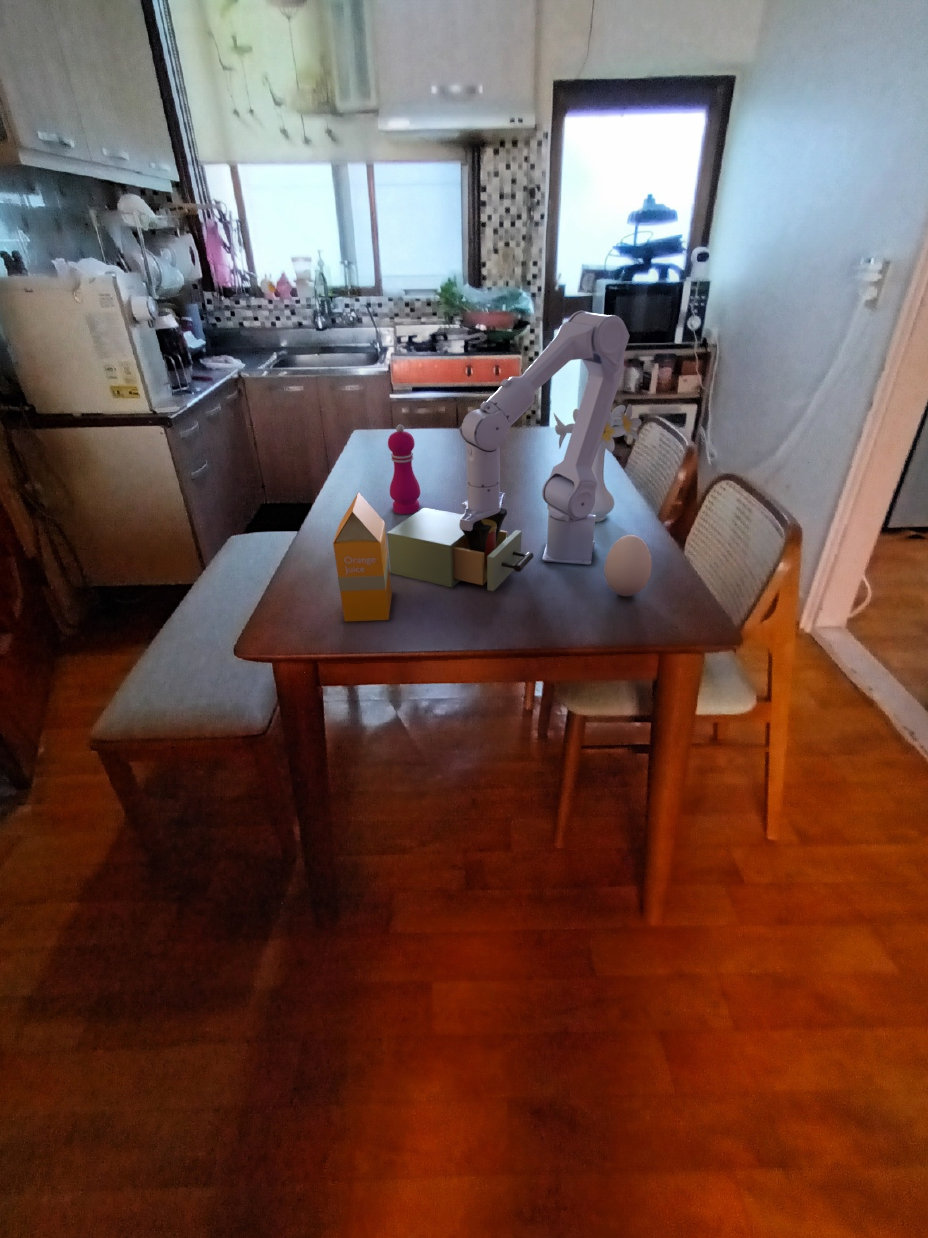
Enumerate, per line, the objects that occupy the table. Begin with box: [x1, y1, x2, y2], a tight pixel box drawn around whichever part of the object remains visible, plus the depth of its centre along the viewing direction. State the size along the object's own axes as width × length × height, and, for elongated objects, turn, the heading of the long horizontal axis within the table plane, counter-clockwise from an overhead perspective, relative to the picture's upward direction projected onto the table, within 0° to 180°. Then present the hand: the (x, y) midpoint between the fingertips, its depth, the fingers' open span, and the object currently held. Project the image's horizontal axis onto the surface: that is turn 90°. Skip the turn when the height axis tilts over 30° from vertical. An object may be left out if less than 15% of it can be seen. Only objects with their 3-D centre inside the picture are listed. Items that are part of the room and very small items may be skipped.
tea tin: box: [482, 519, 497, 565], centre depth 115 cm, size 5×5×7 cm
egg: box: [603, 534, 653, 597], centre depth 109 cm, size 8×8×11 cm
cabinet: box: [386, 507, 466, 588], centre depth 121 cm, size 14×14×9 cm
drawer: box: [453, 529, 534, 592], centre depth 116 cm, size 16×12×7 cm
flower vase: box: [553, 404, 642, 523], centre depth 135 cm, size 13×18×25 cm
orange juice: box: [332, 491, 393, 622], centre depth 104 cm, size 8×9×20 cm
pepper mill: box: [387, 423, 421, 515], centre depth 143 cm, size 7×7×20 cm
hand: (484, 551), depth 116 cm, fingers closed on tea tin, 4 cm apart
